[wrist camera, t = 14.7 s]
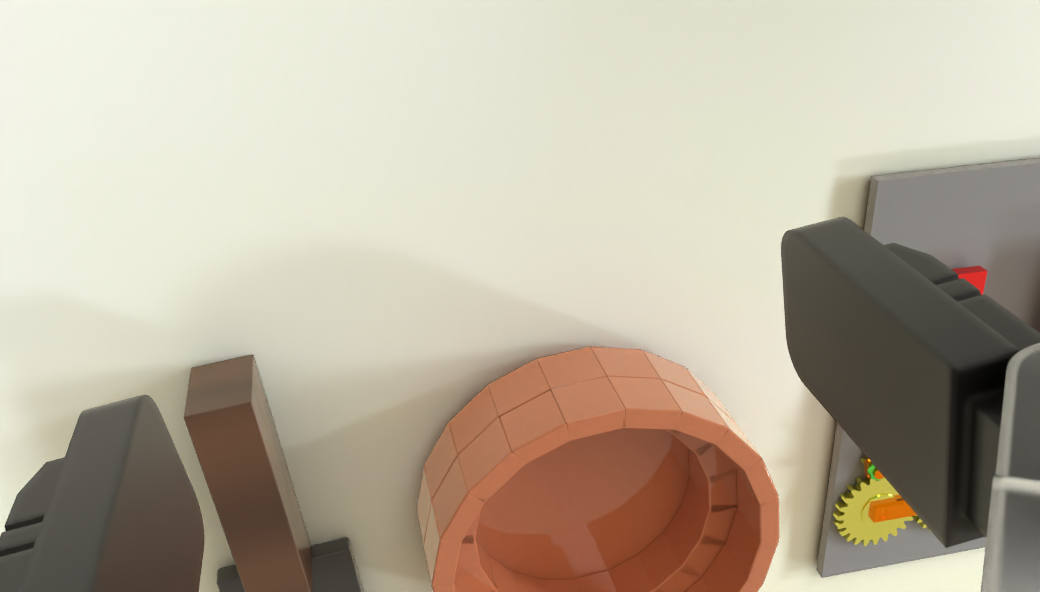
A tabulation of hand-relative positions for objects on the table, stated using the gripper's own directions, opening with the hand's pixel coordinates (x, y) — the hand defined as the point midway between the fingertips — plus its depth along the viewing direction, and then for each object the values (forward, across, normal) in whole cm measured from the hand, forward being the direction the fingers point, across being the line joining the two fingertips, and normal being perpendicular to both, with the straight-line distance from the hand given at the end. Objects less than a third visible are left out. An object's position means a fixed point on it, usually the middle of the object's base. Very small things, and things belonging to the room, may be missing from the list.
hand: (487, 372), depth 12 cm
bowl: (+22, -4, +20) cm, 29 cm away
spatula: (+21, +8, +19) cm, 30 cm away
